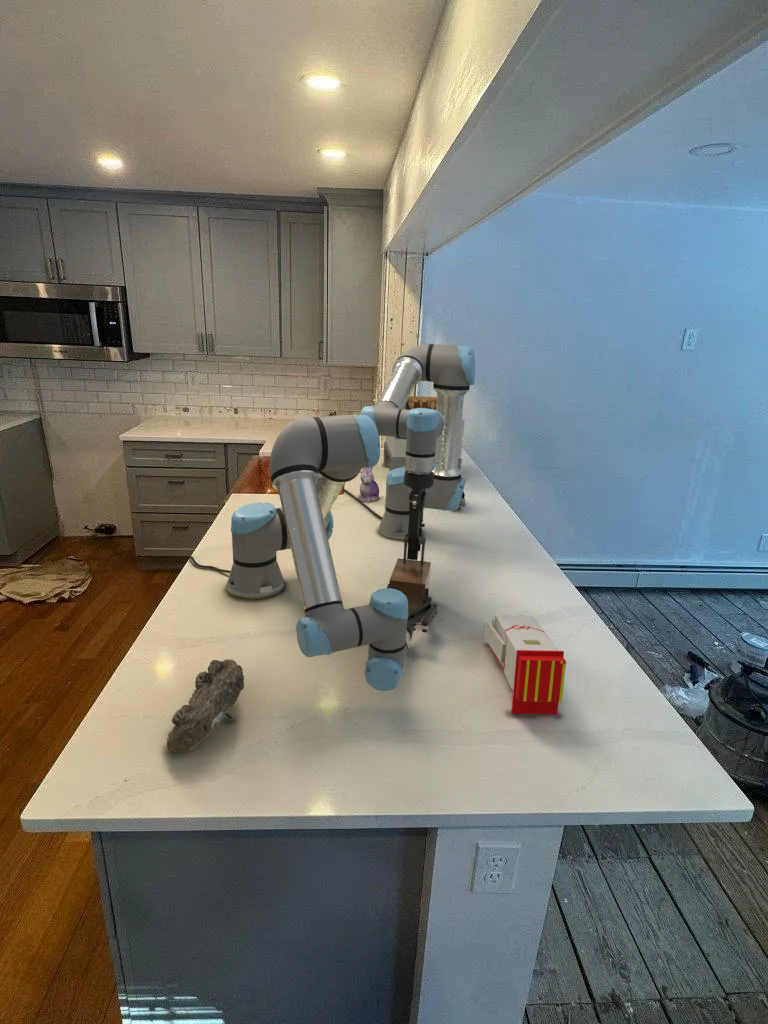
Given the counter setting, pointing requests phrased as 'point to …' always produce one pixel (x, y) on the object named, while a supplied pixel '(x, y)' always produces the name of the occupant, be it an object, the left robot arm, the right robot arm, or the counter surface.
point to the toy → (527, 663)
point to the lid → (411, 568)
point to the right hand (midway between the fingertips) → (413, 554)
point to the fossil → (206, 705)
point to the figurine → (368, 486)
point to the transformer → (397, 445)
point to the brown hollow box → (412, 594)
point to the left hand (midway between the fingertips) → (408, 590)
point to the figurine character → (462, 501)
